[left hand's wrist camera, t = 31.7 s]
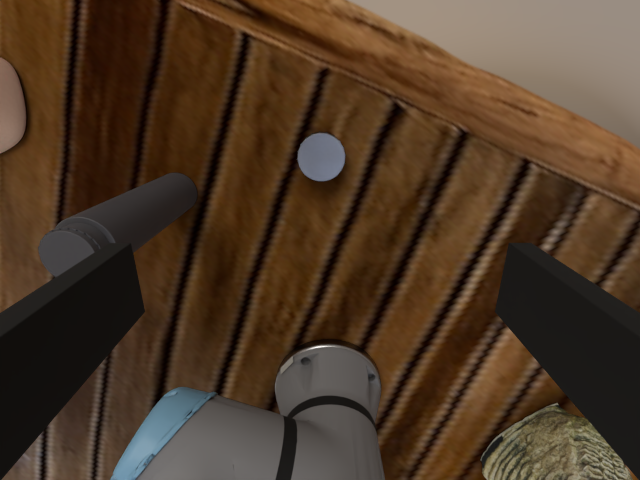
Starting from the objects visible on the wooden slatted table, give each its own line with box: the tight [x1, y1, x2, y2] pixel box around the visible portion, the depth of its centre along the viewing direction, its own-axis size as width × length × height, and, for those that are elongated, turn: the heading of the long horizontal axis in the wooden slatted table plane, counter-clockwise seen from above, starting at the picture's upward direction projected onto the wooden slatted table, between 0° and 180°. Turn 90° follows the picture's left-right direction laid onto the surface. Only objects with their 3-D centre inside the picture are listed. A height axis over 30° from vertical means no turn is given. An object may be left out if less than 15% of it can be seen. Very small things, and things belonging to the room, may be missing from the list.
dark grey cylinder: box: [38, 173, 197, 277], centre depth 33 cm, size 5×5×20 cm
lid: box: [297, 131, 346, 181], centre depth 40 cm, size 5×5×2 cm
